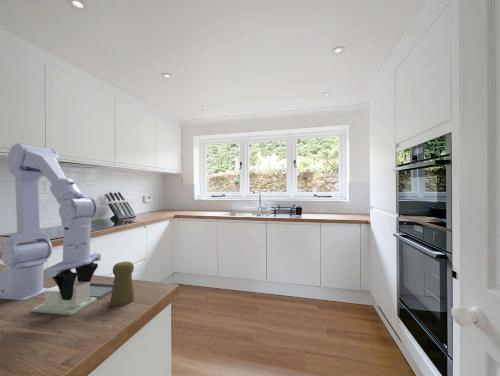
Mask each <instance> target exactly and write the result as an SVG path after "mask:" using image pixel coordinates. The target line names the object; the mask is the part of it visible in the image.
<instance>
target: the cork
mask: <svg viewBox="0 0 500 376" xmlns="http://www.w3.org/2000/svg"><path fill="white" fill-rule="evenodd" d="M134 270H135V266H134V264H133V262H132V261H120V262H118V263H117V262H116V263H115V264H114V265H113V267H112V274H113V275H114V278H113V283H112V284H113V289H112V293H111V295H110V296H111V297H110V302H109V303H110V304H109V305H111V306H113V307H115V306H116V307H119V306H120V307H121V306H126V305H129V304H131V303H133V302H134V301H135V294H134V293H135V292H134V286H133V276H132V275H133V272H134Z"/></svg>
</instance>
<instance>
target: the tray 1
mask: <svg viewBox="0 0 500 376" xmlns="http://www.w3.org/2000/svg"><path fill="white" fill-rule="evenodd" d="M97 301H98V299H97V298H92V297H90V298H89V300H87V301H85V302H83V303H81V304H79V305H78V306H64V307H62V308H60V309H47V308H44V303H42V304H40V305H37V306H35V307H33V308H32V309H31V310H32V313H33V312H34V313H43V314H44V313H45V314H53V315H54V314H55V315H66V316H72V315H74V314H76V313H78V312H79V311H81V310H83V309H85V308H86V307H88V306H90V305H92V304H94V303H95V302H97Z"/></svg>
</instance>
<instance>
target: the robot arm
mask: <svg viewBox="0 0 500 376" xmlns="http://www.w3.org/2000/svg"><path fill="white" fill-rule="evenodd" d="M9 149H10V150H9V152H8V154H7V155H8V157H7V160H8V164H7V165H8V173H9V174H11V175H14V178H15V179H14V180H15V181H14V183H15V207H16V209H15V210H16V211H15V214H16V232H15V233H13V234H12V235H10V236H9V237H7V238H6V239H5V240H4V241H3V249H2V252H1V260H2V263H3V264H4V266H5V267H4V269H3V270H2V271H1V273H0V299H3V300H4V299H6V300H16V301H17V300H18V301H24V300H27V299H30V298H33V297H35V296H38V295H40V294H44V290H47V289H49V288H50V287H44V274H45V277H47V278H52V280H53V281H54V283H55V284H56V286H57V285H58V288H59V290H60V293H61V297H62V300H71V299H72V295H73V286H74V282H76V278H77V281H80V282H91V280H92V279H93V276H94V274H95V271H96V270H97V269H98V268H99V265H98V263H96V262H99V261H101V258H102V257H101V255H102V254H101V253H96V252H95V253H90V252H91V227H92V226H91V225H92V218H94V216H95V215H96V213H97V209H98V207H97V203H96V201H95V199H94V198H92V197H90V196H89V197H88V195H84V194H83V192H82V190H81V189H80V188H79V186H78V185H77V184H76V182H75V181H74V179H73V178H68V177H66V175H65V173H64V171H63V170H62V168H61V166H60V154H59V153H58V152H57V150H56V149H53V148H45V147H38V146H33V145H26V144H22V143H19V142H18V143H15V144H14V145H12V146H11V148H9ZM42 177H46V179H47V180H48V181H49V182H50V183H51V184H50V186H49V190H50V192H51V194H52V195H53V197H54V198H55V200H56V201H57V203H58V204H59V208H58V214H59V217H60V219H61V222H60V223H61V227H63V238H62V239H63V241H62V243H63V246H62V261H60V262H57V263H56V264H55V263H54V265H51V266H49V267H46V268H44V267H45V263H47V262H48V259H49V258H50V257H51V256H52V254H53V245H52V242H51V239H50V238H51V237H50V235H49V234H48V233H46V232H44V231H42V230H41V227H40V226H41V225H40V203H39V202H40V200H39V199H40V198H39V179H40V178H42ZM32 240H33V241H32ZM25 241H26V242H25ZM44 269H45V273H44ZM72 270H75V272H73V271H72Z"/></svg>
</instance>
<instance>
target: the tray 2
mask: <svg viewBox="0 0 500 376" xmlns="http://www.w3.org/2000/svg"><path fill="white" fill-rule="evenodd" d="M113 284H114V283H106V282H105V283H104V282H91V281H90V297H92V298H97V300H101V299H103V298H104V297H106V296H108V295H109V294H112V289H113Z"/></svg>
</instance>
